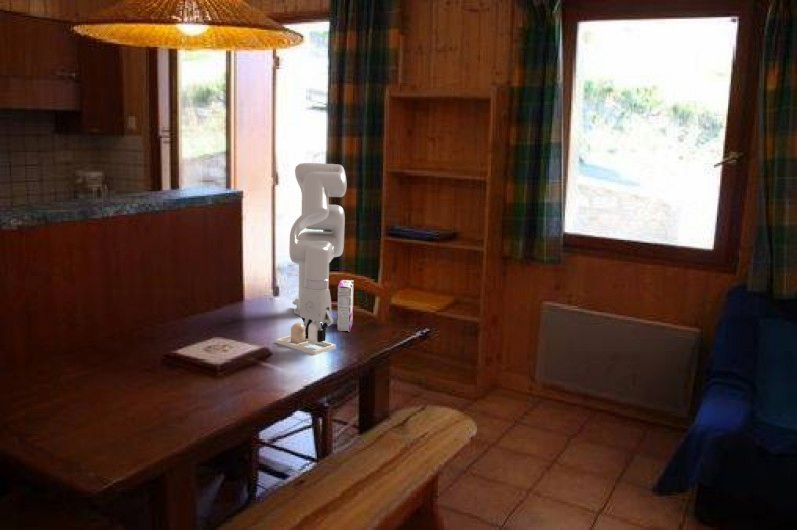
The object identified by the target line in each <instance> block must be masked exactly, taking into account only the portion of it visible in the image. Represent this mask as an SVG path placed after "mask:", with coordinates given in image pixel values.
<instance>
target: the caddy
mask: <svg viewBox="0 0 797 530" xmlns="http://www.w3.org/2000/svg"><path fill="white" fill-rule="evenodd" d="M290 341H291V334H290V335H287V336H283V337H280V338H276V342H275V343H276V344H278V345H282V346H285V347H289V348H291V349H295V350H298V351H300V352H304V353H307V354H310V355H314V356H317V355H320V354H322V353H325V352H329V351H333V350H336V349H337V345H336V344H335V343H332V342H328V341H326V340H325V341H323V342H322V343H321V344H318V345H320V346H323V347H321V348H318V349H312V348H308V346H311V345H312V344H310V343H308V339H306V338H305V342H303V343H299V344H293V343H290Z"/></svg>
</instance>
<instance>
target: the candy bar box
mask: <svg viewBox="0 0 797 530" xmlns="http://www.w3.org/2000/svg"><path fill="white" fill-rule="evenodd" d="M336 309H337V311H336V312H337V313H336V314H337V316H336V317H337V318H336V331H339V332H342V331H348V332H347V333H350V332H351V329H352V326H353V323H354V321H353V320H354V319H353V315H354V313H353V311H354V280H352V279H351V280H350V279H341V280H340V282H339V283H338V286H337V308H336Z"/></svg>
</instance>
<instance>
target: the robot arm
mask: <svg viewBox="0 0 797 530" xmlns="http://www.w3.org/2000/svg"><path fill="white" fill-rule="evenodd" d="M294 175H295V180H296V181H297V183H298V186H299V188H300V192H301V214H300V216H299V217H297V219H296V220H295V222H294V223H293V224H292V227H290V228H291V229H290V231H289V232H290V233H289V248H288V249H289V258H290V261H291V262H293V263H294V264H298V298H295V299H294V300H293V301H292V305H294V306H296V307H295V308H294V310H293V311H294V315H296V316H300V318H301V320H302V321H303V325H304V327H305V338H306V339H308V327H309V324H310V323H311V322H313V321H317V322H318V326H319V330H318V331H317V342H322V341H325V342H326V339H327V337H326V336H327V334H326V331H327V329H328V328H329V327H330V326H331V325H332V324H333V323H334V322H335V321H334V319H333V317H332V298H331V292H330V291H331V290H330V289H329V285H330V284H329V283H330V280H329V277H330V263H331V262H332V260H333V259H334V258H337V257H341V256H342V254H343V252H344V248H345V246H344V245H345V225H346V224H345V221H346V220H345V219H346V217H345V216H346V215H345V211H344V208H343V207H342V206H341V205H338V204H330V202H329V201H330V200H329V198H342V197H344V196H345V195H346V192H347V185H348V184H347V176H346V175H347V174H346V170H345V169H344V166H343V165H342V164H338V163H337V164H335V163H317V162H316V163H315V162H304V163H303V162H301V163H299V164H297V165H296V166H295V169H294ZM304 229H306V230H308V231H303V230H304ZM309 230H310V231H309ZM314 230H316V231H314ZM317 230H319V231H317ZM302 231H303V232H302Z"/></svg>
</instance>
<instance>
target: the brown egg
mask: <svg viewBox="0 0 797 530" xmlns="http://www.w3.org/2000/svg"><path fill="white" fill-rule="evenodd" d="M305 330H306V326H304V323H301V322H296V323H294V324H292V326H291V328H290V335H291V340H289V342H290V343H293V344H299V343H303V342H306V340H305Z"/></svg>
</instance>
